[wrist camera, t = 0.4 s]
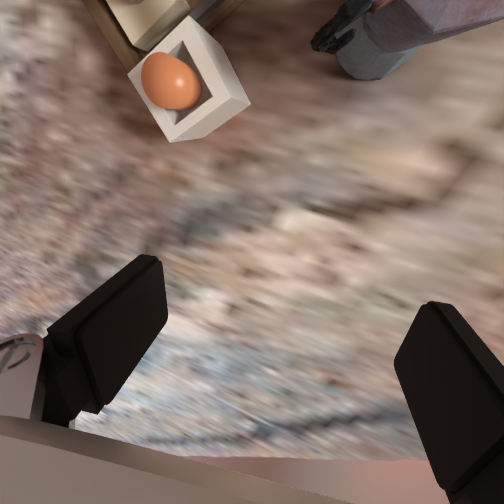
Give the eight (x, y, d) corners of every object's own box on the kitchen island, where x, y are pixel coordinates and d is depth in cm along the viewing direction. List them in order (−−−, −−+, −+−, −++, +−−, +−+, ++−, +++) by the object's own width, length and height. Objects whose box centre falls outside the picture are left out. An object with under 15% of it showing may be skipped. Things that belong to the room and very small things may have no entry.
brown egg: (186, 52, 23) (165, 39, 20) (209, 95, 25) (193, 90, 21) (156, 79, 25) (131, 72, 21) (179, 118, 26) (160, 117, 23)
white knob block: (220, 41, 30) (185, 7, 21) (250, 104, 32) (231, 97, 23) (171, 83, 33) (123, 68, 24) (203, 137, 35) (169, 142, 26)
